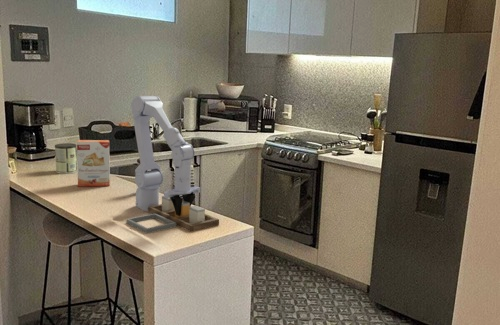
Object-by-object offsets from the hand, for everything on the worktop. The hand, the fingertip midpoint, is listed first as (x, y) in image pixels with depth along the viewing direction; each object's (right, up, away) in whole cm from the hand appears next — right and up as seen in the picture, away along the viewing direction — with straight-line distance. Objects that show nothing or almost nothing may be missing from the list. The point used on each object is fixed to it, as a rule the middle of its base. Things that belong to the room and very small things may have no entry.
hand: (182, 214), depth 175 cm
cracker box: (-47, +8, +47) cm, 67 cm away
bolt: (-22, +5, +37) cm, 44 cm away
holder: (0, -2, 0) cm, 2 cm away
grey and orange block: (0, -1, 0) cm, 1 cm away
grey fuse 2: (+6, -3, -6) cm, 9 cm away
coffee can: (-70, +14, +73) cm, 102 cm away
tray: (-10, -4, -8) cm, 13 cm away
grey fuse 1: (-6, 0, +7) cm, 9 cm away
